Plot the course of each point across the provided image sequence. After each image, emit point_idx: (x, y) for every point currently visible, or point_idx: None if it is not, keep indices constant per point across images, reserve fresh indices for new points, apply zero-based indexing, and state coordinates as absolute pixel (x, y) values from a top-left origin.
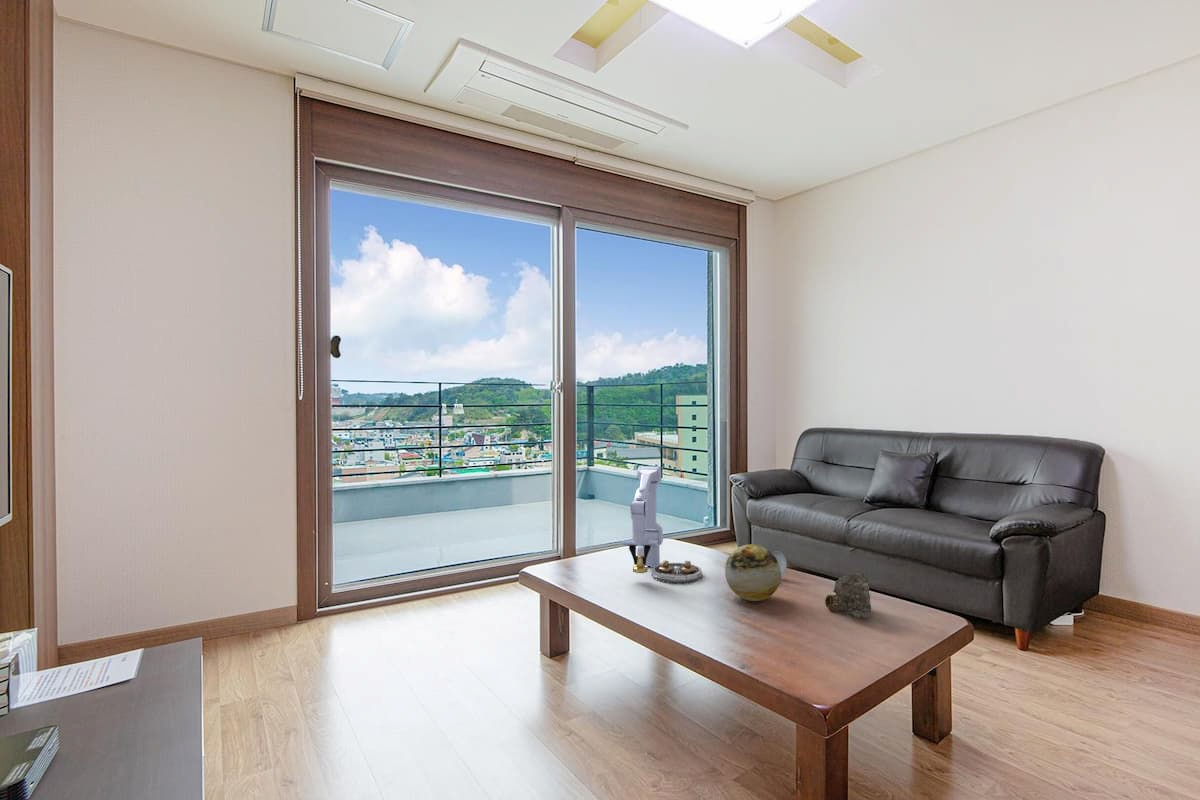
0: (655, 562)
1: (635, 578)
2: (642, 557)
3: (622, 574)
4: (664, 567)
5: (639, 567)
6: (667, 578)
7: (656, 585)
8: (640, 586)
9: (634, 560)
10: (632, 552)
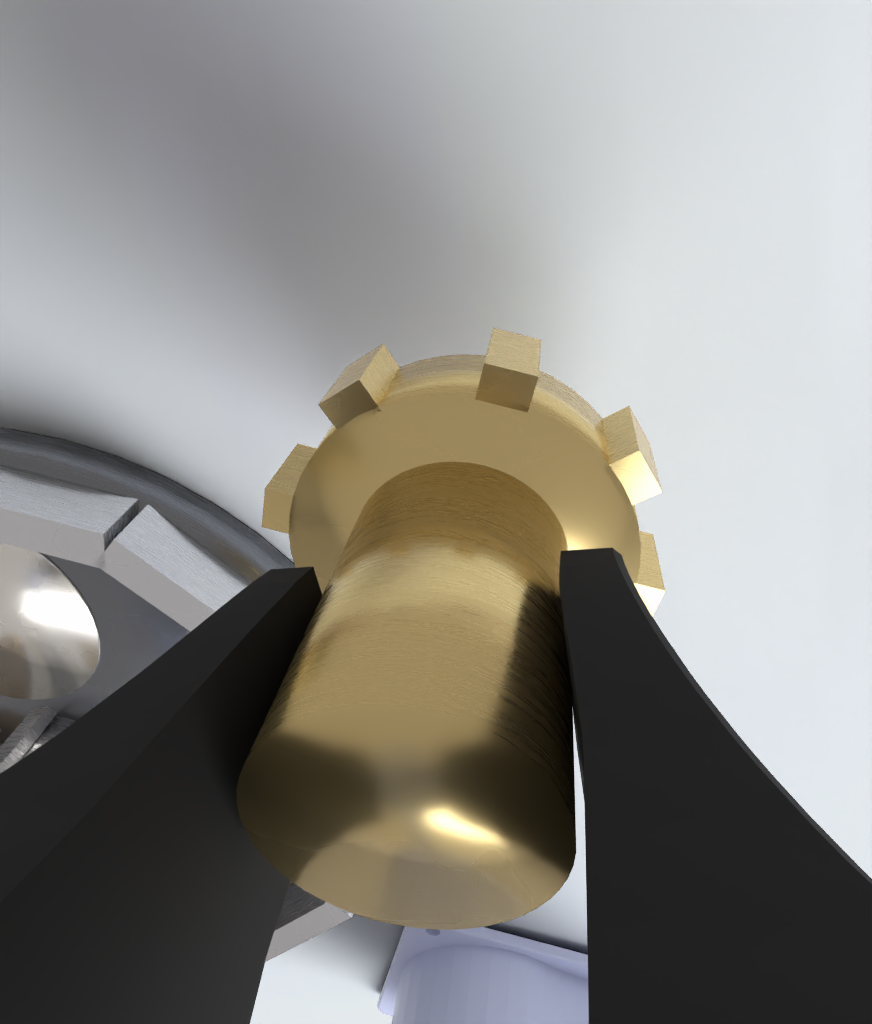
0: (422, 992)
1: None
2: (260, 738)
3: (850, 711)
4: None
5: (447, 477)
6: (15, 478)
7: (149, 255)
8: (421, 97)
9: (620, 615)
10: (836, 982)
